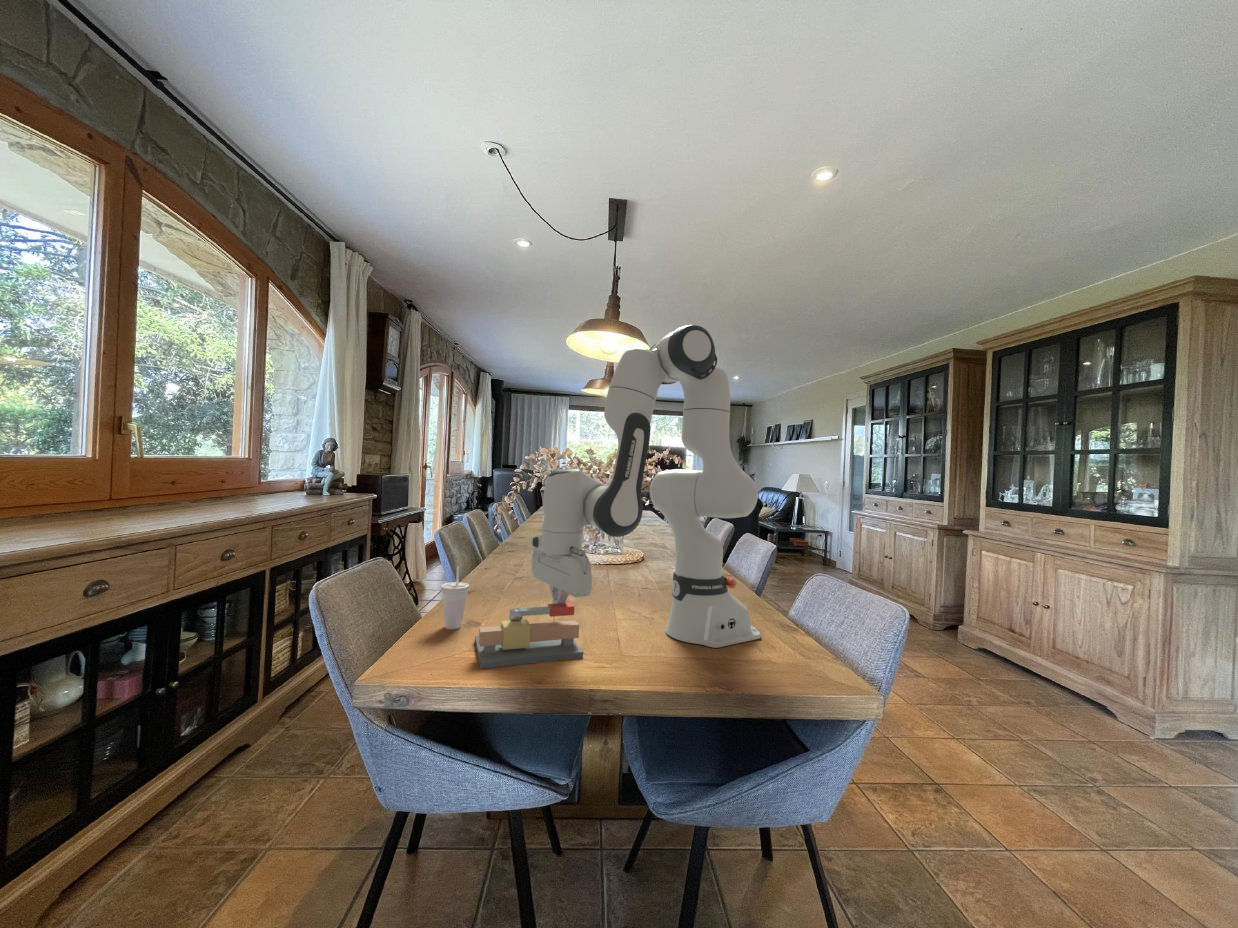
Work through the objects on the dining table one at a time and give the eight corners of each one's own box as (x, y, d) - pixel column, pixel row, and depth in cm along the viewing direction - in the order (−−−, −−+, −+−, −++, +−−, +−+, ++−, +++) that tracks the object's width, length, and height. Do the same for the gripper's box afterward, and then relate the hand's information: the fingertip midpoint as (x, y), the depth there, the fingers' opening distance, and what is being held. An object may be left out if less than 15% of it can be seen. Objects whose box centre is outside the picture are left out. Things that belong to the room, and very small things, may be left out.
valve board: (565, 634, 113) (566, 603, 113) (582, 657, 100) (584, 623, 100) (474, 641, 105) (476, 609, 105) (480, 668, 92) (482, 631, 92)
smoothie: (458, 632, 111) (461, 570, 111) (433, 629, 112) (435, 568, 112) (472, 623, 117) (475, 565, 117) (448, 620, 118) (450, 562, 118)
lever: (510, 621, 98) (510, 610, 98) (508, 616, 100) (508, 606, 100) (574, 616, 102) (574, 606, 102) (570, 612, 105) (571, 602, 105)
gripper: (601, 550, 99) (597, 619, 99) (552, 535, 116) (549, 594, 116) (574, 552, 95) (570, 623, 95) (527, 537, 112) (524, 597, 112)
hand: (558, 607), depth 106 cm, fingers closed
